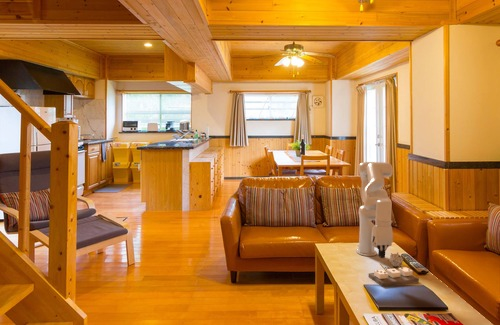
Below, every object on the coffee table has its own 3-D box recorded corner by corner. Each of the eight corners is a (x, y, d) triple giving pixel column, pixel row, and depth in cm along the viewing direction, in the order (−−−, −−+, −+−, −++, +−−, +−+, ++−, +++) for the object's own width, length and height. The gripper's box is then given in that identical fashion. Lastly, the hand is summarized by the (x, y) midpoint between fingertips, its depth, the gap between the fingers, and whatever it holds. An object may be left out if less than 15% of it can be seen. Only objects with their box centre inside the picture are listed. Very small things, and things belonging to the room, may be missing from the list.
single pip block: (386, 273, 182) (386, 269, 182) (394, 272, 183) (394, 268, 183) (392, 277, 177) (392, 272, 177) (400, 276, 178) (400, 271, 178)
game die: (398, 273, 197) (407, 264, 190) (384, 267, 198) (392, 258, 192) (399, 261, 204) (407, 252, 197) (385, 256, 205) (393, 246, 198)
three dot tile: (374, 275, 180) (374, 270, 180) (382, 274, 182) (382, 269, 181) (379, 279, 175) (379, 274, 175) (388, 278, 177) (388, 273, 176)
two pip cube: (398, 272, 184) (398, 267, 184) (406, 271, 185) (406, 266, 185) (404, 276, 179) (404, 271, 179) (412, 275, 180) (412, 270, 180)
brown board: (368, 277, 184) (368, 273, 184) (403, 273, 189) (403, 269, 189) (382, 286, 172) (382, 283, 172) (418, 282, 177) (418, 278, 177)
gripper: (390, 220, 181) (389, 253, 183) (366, 222, 178) (365, 255, 180) (400, 224, 174) (398, 258, 176) (374, 226, 171) (373, 261, 173)
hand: (381, 257), depth 178 cm, fingers closed
